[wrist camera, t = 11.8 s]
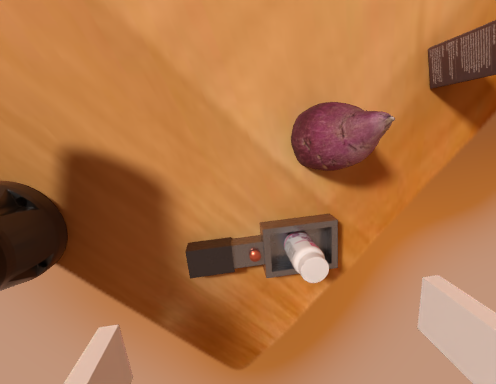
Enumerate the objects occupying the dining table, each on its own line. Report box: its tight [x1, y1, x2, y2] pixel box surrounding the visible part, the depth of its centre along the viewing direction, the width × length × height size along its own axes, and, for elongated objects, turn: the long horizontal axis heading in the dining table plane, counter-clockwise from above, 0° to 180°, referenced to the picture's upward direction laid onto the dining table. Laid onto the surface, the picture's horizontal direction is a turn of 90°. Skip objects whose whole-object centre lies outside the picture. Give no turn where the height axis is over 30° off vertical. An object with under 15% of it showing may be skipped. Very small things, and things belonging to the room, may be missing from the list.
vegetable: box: [291, 102, 395, 170], centre depth 32 cm, size 10×10×15 cm
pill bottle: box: [284, 231, 329, 283], centre depth 37 cm, size 5×5×8 cm
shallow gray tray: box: [186, 214, 338, 278], centre depth 40 cm, size 24×8×3 cm, turn 95°
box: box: [428, 20, 496, 89], centre depth 31 cm, size 6×4×12 cm
